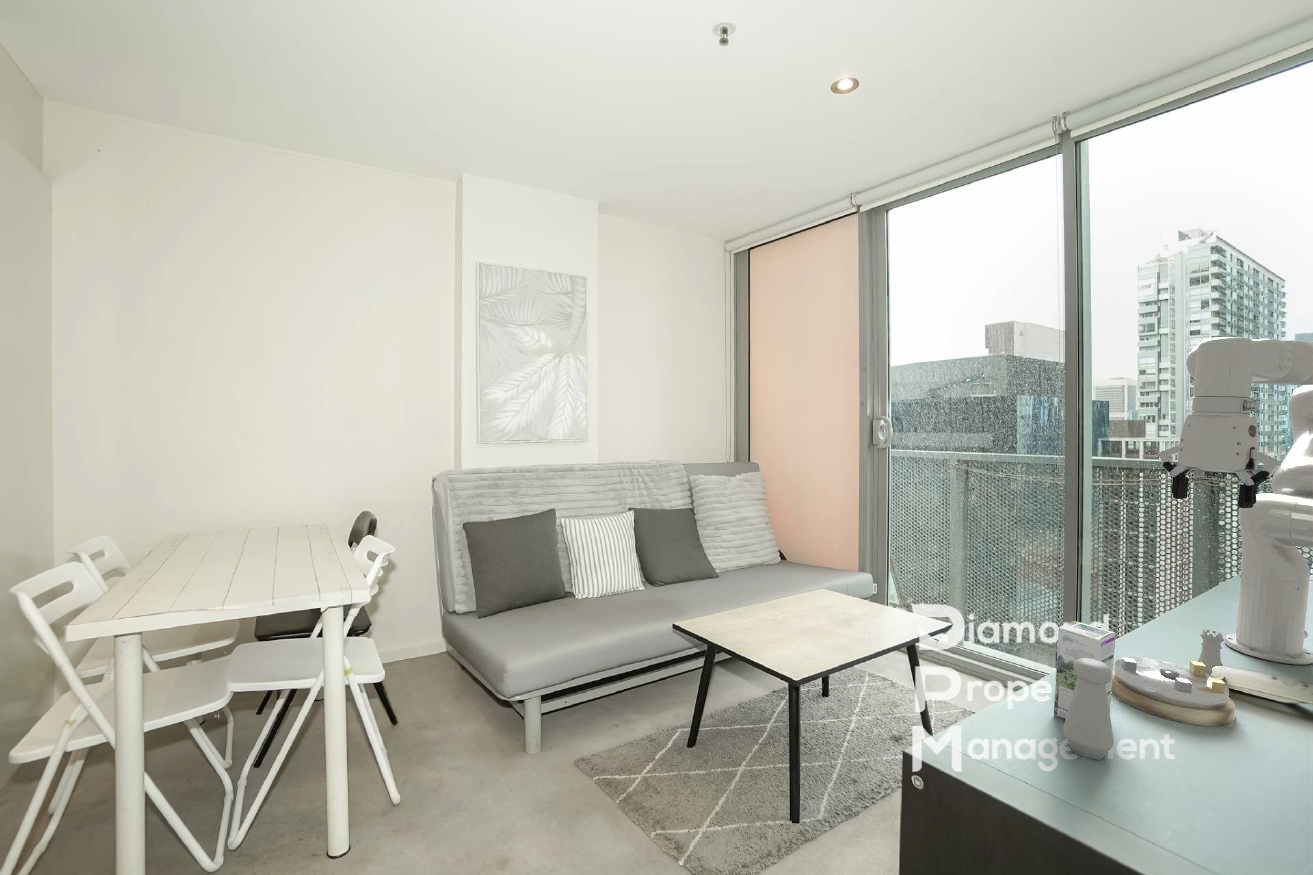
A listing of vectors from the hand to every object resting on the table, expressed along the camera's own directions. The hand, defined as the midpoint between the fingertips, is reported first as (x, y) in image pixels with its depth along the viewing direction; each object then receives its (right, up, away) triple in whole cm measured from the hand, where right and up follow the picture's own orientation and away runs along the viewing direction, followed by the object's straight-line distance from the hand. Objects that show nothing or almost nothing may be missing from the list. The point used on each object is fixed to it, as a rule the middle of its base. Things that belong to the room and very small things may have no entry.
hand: (1211, 502), depth 109 cm
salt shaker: (-39, -33, -23) cm, 56 cm away
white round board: (-15, -30, -9) cm, 34 cm away
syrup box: (-34, -32, -15) cm, 49 cm away
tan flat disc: (-15, -32, -8) cm, 36 cm away
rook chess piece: (+1, -32, +1) cm, 32 cm away
